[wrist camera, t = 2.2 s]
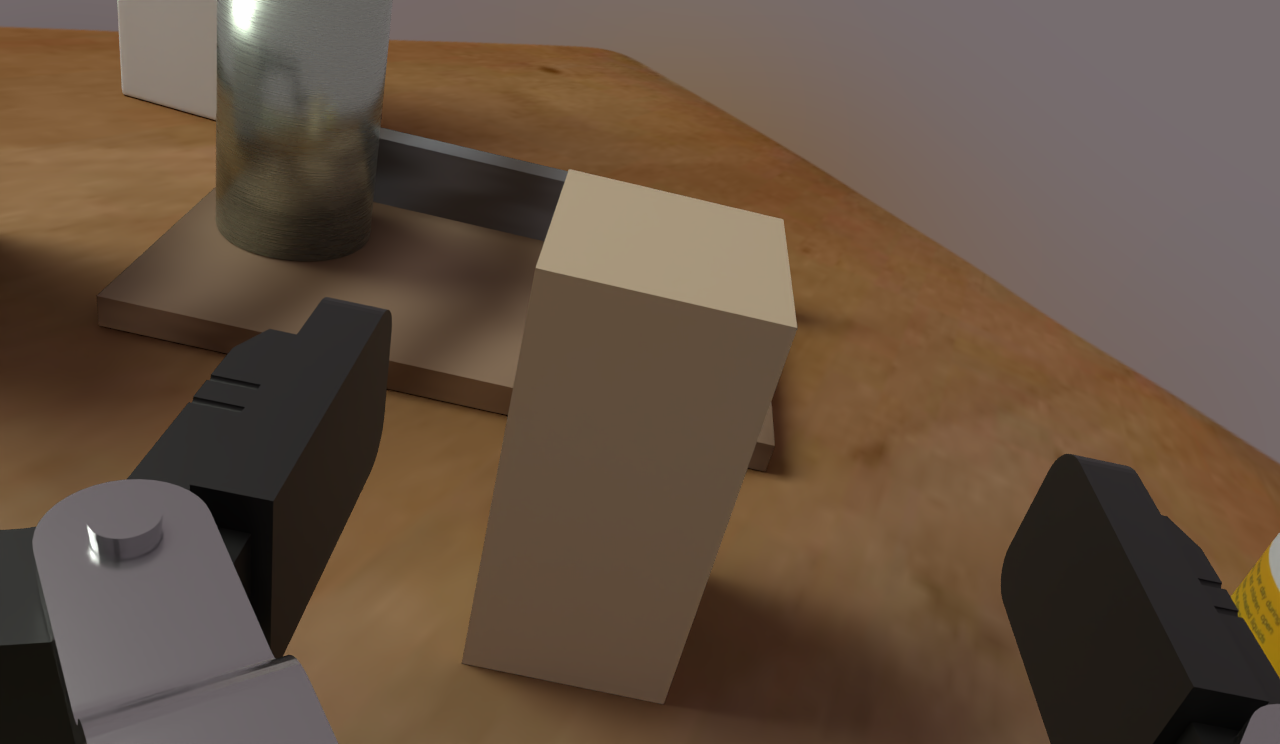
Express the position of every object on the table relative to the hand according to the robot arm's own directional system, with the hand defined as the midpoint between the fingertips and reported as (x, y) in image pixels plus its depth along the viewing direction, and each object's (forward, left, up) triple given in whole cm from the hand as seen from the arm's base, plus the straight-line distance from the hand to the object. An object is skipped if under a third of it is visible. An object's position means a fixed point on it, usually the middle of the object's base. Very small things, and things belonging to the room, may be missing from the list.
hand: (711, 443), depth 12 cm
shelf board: (-6, +26, -15) cm, 31 cm away
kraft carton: (0, +11, -15) cm, 19 cm away
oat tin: (-14, +28, -13) cm, 34 cm away
